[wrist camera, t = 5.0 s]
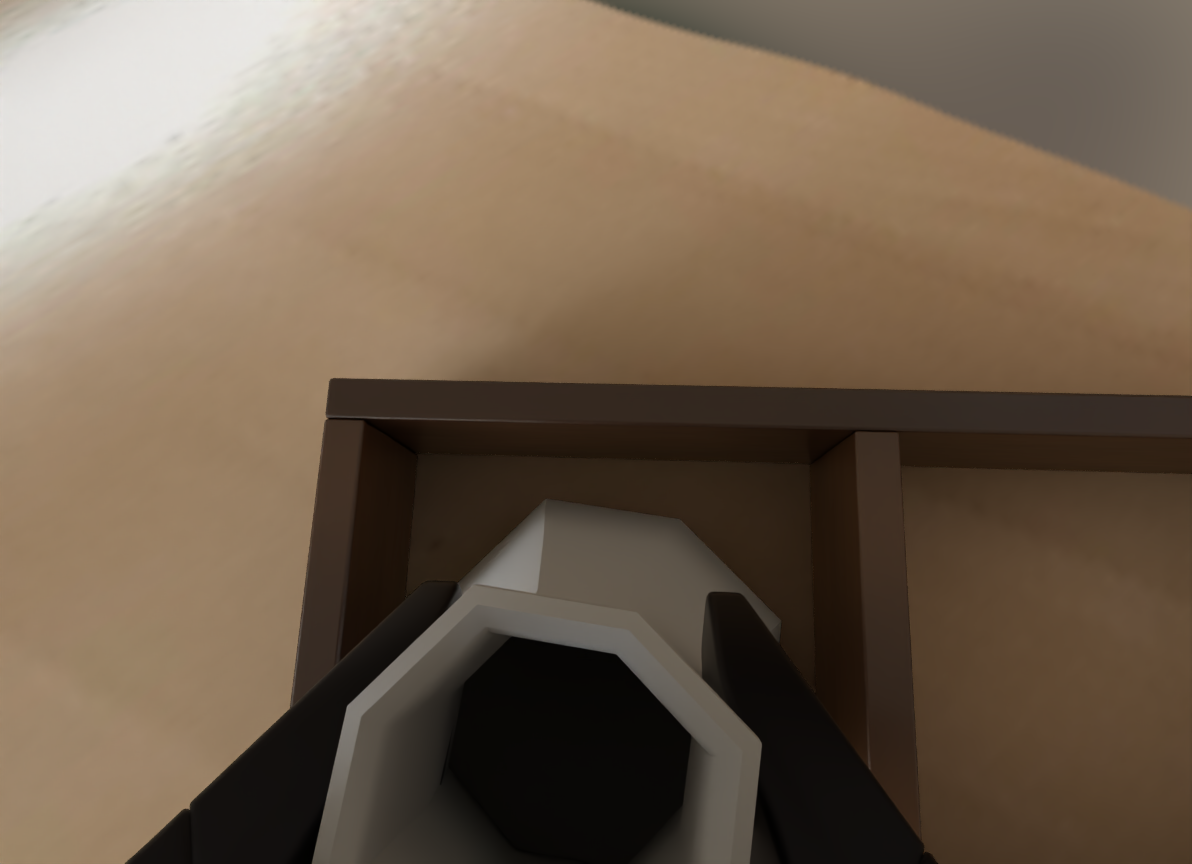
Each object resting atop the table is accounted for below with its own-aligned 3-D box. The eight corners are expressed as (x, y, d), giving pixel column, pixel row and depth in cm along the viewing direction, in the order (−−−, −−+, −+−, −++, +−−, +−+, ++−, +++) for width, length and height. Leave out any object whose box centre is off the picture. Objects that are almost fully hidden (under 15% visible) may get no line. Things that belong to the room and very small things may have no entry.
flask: (837, 601, 15) (1215, 596, 5) (682, 952, 14) (799, 1823, 4) (531, 445, 16) (370, 200, 6) (360, 756, 15) (-177, 1051, 5)
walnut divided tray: (1392, 990, 14) (1641, 1120, 10) (338, 920, 15) (250, 1017, 12) (1295, 441, 16) (1473, 400, 13) (389, 419, 17) (328, 376, 14)
